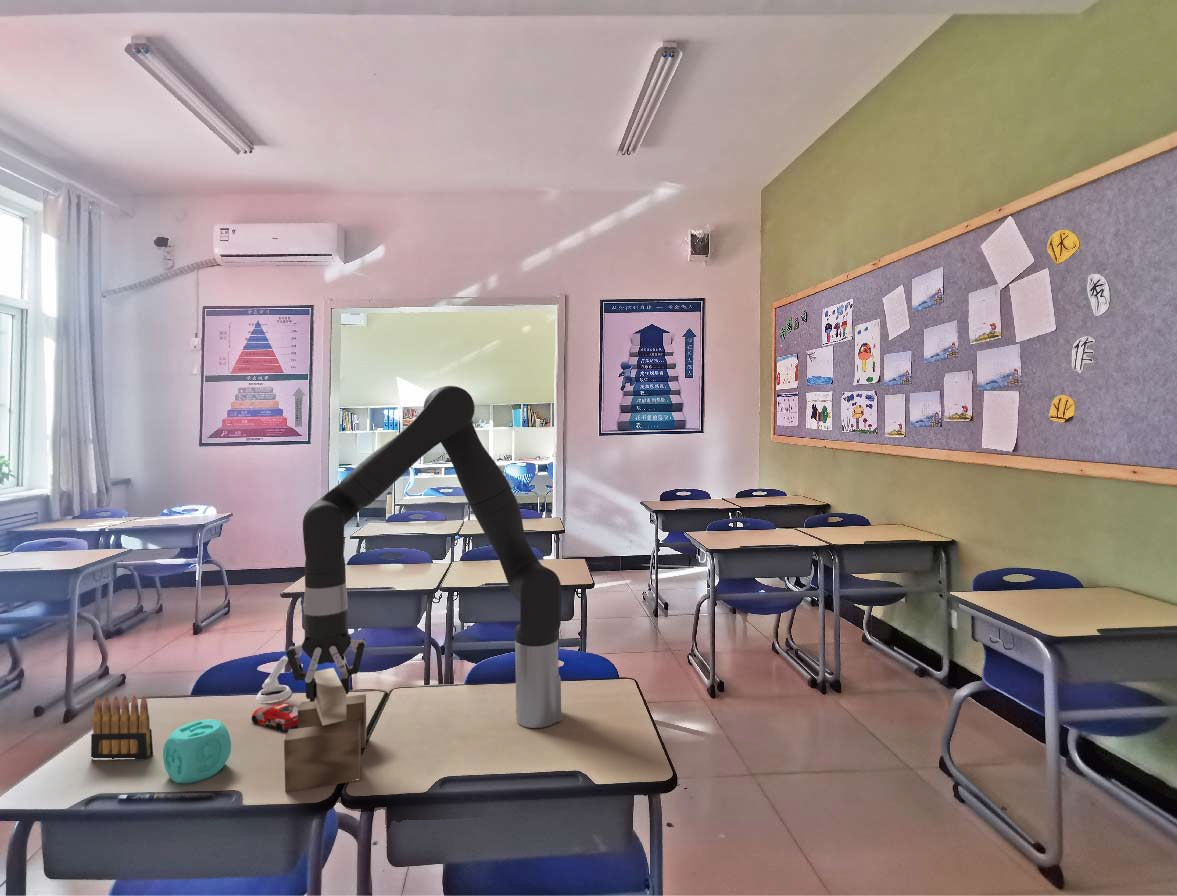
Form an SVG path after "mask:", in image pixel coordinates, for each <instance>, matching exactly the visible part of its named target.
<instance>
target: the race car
mask: <svg viewBox="0 0 1177 896" xmlns="http://www.w3.org/2000/svg"><path fill="white" fill-rule="evenodd" d="M298 709H299V707H296V706H294V705H293V704H289V703H286V702H281V703H277V704H268V705H265V706H261V707H259V708H257V709H255V710H254V711H253V713H252V715H251V721H252V723H253V722H255V723H258V724H257V725H261V726H265V727H268V728H272V729H275V730H277V731H279V730H280V731H279V732H283V731H289V730H290V729H296V728H298ZM255 723H254V724H255Z"/></svg>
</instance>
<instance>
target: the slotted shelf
mask: <svg viewBox="0 0 1177 896" xmlns="http://www.w3.org/2000/svg"><path fill="white" fill-rule="evenodd" d="M346 715H347V720H344V721H340V722H336V723H331V724H327V725H323V726H322V723H321V720H320V717H319V715H318V712H317V709H316V707H315V704H314V702H310V700H305V701H301V702H300V704H299V707H298V727H297V728H294V729H290V730H287V733H286V735H285V738H284V740H283V744H284V745H283V748H284V749H283V750H284V789H285V790H284V792H285V793H287V792H295V791H301V790H306V789H307V790H308V789H313V788H320V787H324V786H325V787H326V786H333V785H338V784H340V785H341V784H345V783H352V782H351V781H352V780H356V779H359V780H360V778H361V773H360V772H361V771H362V749H365V748H366V744H367V739H368V737H367V736H368V735H367V733H368V732H367V694H358V695H346ZM359 777H360V778H359Z"/></svg>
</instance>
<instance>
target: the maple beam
mask: <svg viewBox="0 0 1177 896" xmlns="http://www.w3.org/2000/svg"><path fill="white" fill-rule="evenodd" d="M314 678H315V691H316V698H315V701H314V704H315V707H316V709H317V712H318V715H319V717H320V720H321V723H322V726H323V725H327V724H331V723H336V722H340V721H344V720H347V715H346V697H347V694H346V691H345V689H344V687H343V685H342V683H341V679H340V678H339V676H338V674H337V672H336V670H335V668H334V667H329V668H325V669H320V670H316V671H315V673H314Z"/></svg>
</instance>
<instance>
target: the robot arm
mask: <svg viewBox="0 0 1177 896" xmlns="http://www.w3.org/2000/svg"><path fill="white" fill-rule="evenodd" d="M475 407H476V405H475V402H474V400H473V396H472V395H471V394H470V393H469V392H468V391H467V390H466V389H464V388H462V387H459V386H456V385H446V386H441V387H438V388H436V389H434V390H432V391H431V392H430V393H429V394H428V395H427V396H426V397H425V399H424V404H423V408H422V410H421V411H420V413H418V415H417V416H416V417H415V419H413V421H411V422H410V423H409V424H408V425H407V426H406V427H405V428H404V429H403V430H401V432H399V433H398V434H397V435H395V436H394V437H393V438H392V439H390V440H389V441H388V442H386V443H384V444H383V445H382V446H381V447H379V448H377V449H376V450H375V451H374V452H372V453H371V454H370V455H369V456H367V457H366V458H365V459H364V460H362V461H361V462H360V463H359V464H358V465H357V466H356V467H355V468H353V470H351V471H350V472H349V473H348V474H347V475H345V477H344V478H342V480H341V481H340V482H339V483H338V484H337V485H336V486H334V487H333V488H332V489H330V490H329V491H328V492H326V493H325V494H324V495H323V496H322V497H320V498H319V499H317V501H316V502H314V503H313V504H312V505H311V506H310V507H308V509H307V510H306V512H305V513H304V516H303V519H302V538H303V547H304V548H303V549H304V555H305V561H304V563H305V564H304V594H303V595H304V596H303V606H302V608H303V616H304V617H303V618H304V619H303V621H304V638H303V641H302V643H300V644H298V645H291V646H289V648H288V649H287V651H286V653H285V654H286V657H287V658H288V663H289V665H290V669H291V672H292V675H293V678H294V680H295V681H296V682H297V681H303V682H304V683H305V697H306V699H307V700H309V701H310V702H314V701H315V698H316V691H315V678H314V673H315V671H317V667H318V665H323V664H326V663H329V664H334V663H335V666H336V668H337V669H338V673H340V676H341V677H340V682H341V683H342V685H343V687H344V689H345V691H346V695H348V694H349V692H350V690H351V687H350V686H351V685H350V681H351V679H350V677H351V676H352V675H357V674H358V673H359V669H360V666H361V663H362V658H363V654H364V650H365V647H366V643H367V642H366V641H367V640H366V639H365V638H361V639H353V638H352V636H350V634H349V611H348V610H349V607H348V600H349V599H348V588H347V582H346V581H347V579H346V578H347V577H346V575H347V573H346V571H347V570H346V559H345V555H344V550H345V549H344V547H345V546H344V544H345V526H346V525H347V523H348V522H349V521H351V520H352V519H353V518H354V517H355V516H356V515H357V514H358V513H359V512H360V511H361V510H362V509H365V508H366V507H368V506H369V505H371V504H372V503H374V502H375V501H376V500H377V499H378V498H380V497H381V496H382V495H383V494H384V493H385V492H386V491H387V490H388V489H389V488H390V487H391V486H393V485H394V484H395V482H397V481H398V480H399V479H400V478H401V477H402V476H403V475H404V474H406V472H407V471H408V470H409V469H410V468H411V467H413V465H415V464H416V463H417V462H418V461H419V460H420V459H421V458H422V457H424V456H425V455H426V454H427V453H429V452H430V451H431V450H432V449H434V448H435V447H436V446H437V445H439V444H440V443H441V445H442V447H443V449H444V450H445V452H446V454H447V456H448V458H449V460H450V462H451V463H452V464H451V465H452V466H453V469H454V472H455V474H456V477H457V480H458V482H459V484H460V488H461V489H462V490H463V494H464V495H465V498H466V501H467V503H468V505H469V507H470V508H471V510H472V513H473V516H474V517H475V519H476V521H477V523H478V524H479V526H480V527H481V529H482V531H483V533H484V535H485V537H486V539H487V540H488V542H489V544H490V545H491V547H492V548H493V550H494V552H495V553H496V556H497V557H498V560H499V563H500V565H501V568H502V570H503V573H504V577H505V579H506V582H507V584H508V587H509V590H510V592H511V595H512V596H513V598H514V599H515V600H516V601H517V602H518V603H520V605H519V606H520V613H519V620H520V621H519V624H517V625H516V627H515V629H514V650H515V651H514V654H515V657H514V658H515V659H514V660H515V661H514V662H515V714H516V715H515V717H516V718H515V720H516V722H517V724H519V725H520V726H522V727H525V728H529V729H530V728H531V729H541V728H546V727H549V726H552V725H554V724H556V723H559V722H562V677H561V676H560V673H559V641H558V639H559V630H560V627H561V625H562V600H563V599H562V598H563V597H562V596H563V595H562V583H561V581H560V578H559V576H558V575H557V574H556V572H554V570H552V569H551V568H548V567H546V566H544V565H542V563H541V562H540V560H539V559H538V558H537V556H536V554H535V553H534V551H533V549H532V548H531V546H530V544H529V542H528V539H527V537H526V534H525V530H524V524H523V518H522V514H521V513H522V512H521V509H520V505H519V502H518V501H517V498H516V496H515V493H514V492H513V490H512V487H511V485H510V484H509V482H508V481H509V480H508V479H507V478H506V476H505V475H504V473H503V472H502V470H501V468H500V467H499V465H498V464H497V463H496V461H495V460H494V459H493V457H492V456H491V455H490V453H489V452H488V451H487V449H486V448H485V447H484V445H483V444H482V441H481V439H480V438H479V435H478V433H477V431H476V429H475V426H474V423H473V421H472V420H473V418H474V415H475ZM350 646H351V647H352V652H353V653H355V657H354V660H353V664H352V665H350V666H349V664H348V663H347V658H346V656H345V653H346V651H347V650H348V648H349V647H350ZM302 651H304V653H305V654H306V655H307V656H308V657H309V659H310V663H309V666H308V668H307V671H305V670H304V669H303V664H302V662H301V659H300V657H301V655H302Z"/></svg>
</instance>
